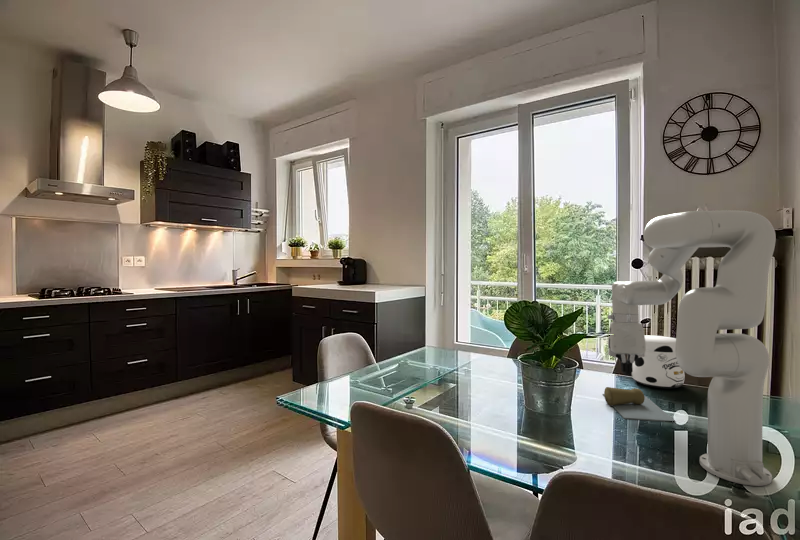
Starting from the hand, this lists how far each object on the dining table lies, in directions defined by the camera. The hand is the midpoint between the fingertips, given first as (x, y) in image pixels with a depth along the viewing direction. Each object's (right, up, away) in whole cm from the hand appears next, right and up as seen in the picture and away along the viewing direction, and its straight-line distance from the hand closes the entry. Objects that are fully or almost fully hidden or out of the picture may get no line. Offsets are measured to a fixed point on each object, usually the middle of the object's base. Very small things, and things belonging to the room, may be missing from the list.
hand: (626, 374), depth 129 cm
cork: (-5, -8, +2) cm, 10 cm away
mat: (+3, -11, 0) cm, 11 cm away
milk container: (+25, -11, +23) cm, 36 cm away
